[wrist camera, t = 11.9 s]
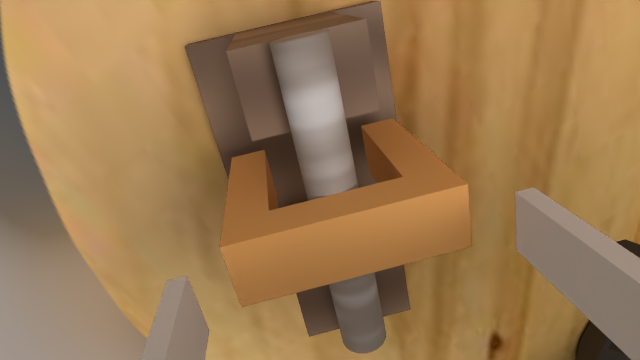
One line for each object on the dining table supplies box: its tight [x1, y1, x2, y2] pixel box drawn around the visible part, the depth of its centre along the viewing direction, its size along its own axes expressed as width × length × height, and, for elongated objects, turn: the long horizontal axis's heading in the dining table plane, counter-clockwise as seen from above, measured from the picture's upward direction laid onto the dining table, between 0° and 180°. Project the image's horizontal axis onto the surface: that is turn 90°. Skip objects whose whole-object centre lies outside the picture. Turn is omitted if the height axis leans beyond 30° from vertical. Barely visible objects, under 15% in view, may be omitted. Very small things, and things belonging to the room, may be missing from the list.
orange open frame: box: [219, 118, 472, 307], centre depth 22 cm, size 3×10×10 cm, turn 102°
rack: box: [185, 1, 410, 353], centre depth 24 cm, size 16×12×12 cm
